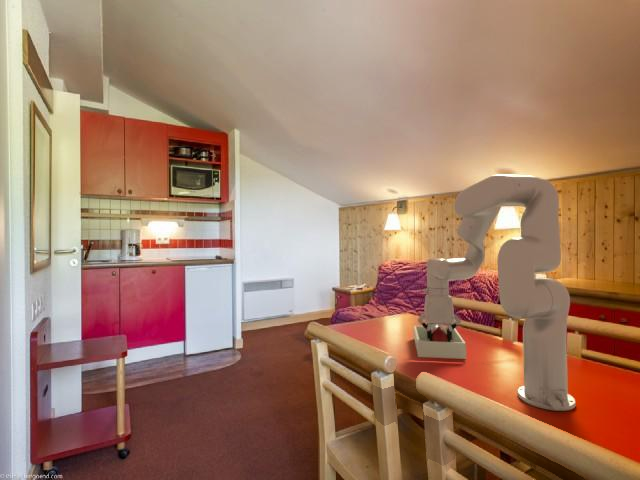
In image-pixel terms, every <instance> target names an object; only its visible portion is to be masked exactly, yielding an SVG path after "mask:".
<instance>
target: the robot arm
mask: <svg viewBox="0 0 640 480" xmlns="http://www.w3.org/2000/svg"><path fill="white" fill-rule="evenodd" d="M559 197H560V196H559V193H558V190H557V188H556V187H555V186H554V184H553V183H552V182H550V181H549V180H547V179H545V178H542V177H539V176H533V175H523V174H521V175H520V174H494V175H490V176H489V177H486V178H484V179H482V180H480V181H478V182H477V183H474V184H472V185H470V186H468V187H466V188H465V189H463V190H461V191H460V192H459V193H458V194H457V196H456V197H455V199H454V203H453V208H454V209H453V210H454V212H455V214H456V215H457V216H458V217H460V218H462V220H461V222H460V224H459V225H458V228H457V231H456V232H457V233H456V234H457V236H458V237H459V238H460V239H461V240H462V241H463V242H466V243H467V244H468V248H467V250H466V253H465V254H464V256H463V257H460V258H459V257H457V258H456V257H455V258H441V257H440V258H438V257H437V258H429V259H427V260H426V288H423V289H422V290H423V294H424V293H425V294H426V295H425V297H424V306H423V307H424V308H423V311H424V312H423V313H422V314H421V315H420V316H419V317H418V318H417V322H418V323H419V324H420V326H423V327H424V328H425V329H426V330H427V339H429V341H432V331H431V326H432V324H444V325H446V327H448V329H447V337H448V342H450V340H452V331H453V329H454V328H455V329H456V327H458V326H459V325H460V324H461V323H462V320H461V319H460V318H459V317H458V316H457V315H456V314H455V312H454V311H455V309H454V302H453V296H451V295H450V284H449V283H450V282H451V281H460V280H469V279H472V278H473V277H475V275H476V274H477V273H478V272H479V270H480V269H481V267H482V264H483V263H484V261H485V256H486V248H485V244H484V240H485V238H486V237H487V235H488V232H489V231H490V229H491V227H492V225H493V223H494V222H495V219H496V218H497V216H498V214H499V212H500V210H501V208H502V207H524V208H525V209H524V210H523V213H522V214H521V217H520V218H521V219H520V236H519V237H513V238H510V239H508V240H506V241H505V242H504V243H503V244H502V245H501V247H500V248H499V251H498V253H497V260H496V261H497V279H498V280H497V281H498V296H499V302H500V305H501V308H502V309H503V311H504V312H505V313H506V314H507V315H508V316H509V317H511V318H514V319H517V320H524V321H523V325H522V326H523V327H522V351H523V354H522V357H523V360H522V361H523V385H521V386H520V387H519V388H518V389H517V397H518V398H520V400H522V401H523V402H524V403H527V404H528V405H530V406H533V407H536V408H540V409H543V410H547V411H555V412H557V411H558V412H567V411H571V410H573V409H574V408H575V407H576V405H577V404H576V399H575V398H574V397H573V396H572V395H571V394H569V392H568V391H569V390H568V389H569V388H568V353H567V352H568V350H567V348H568V347H567V341H568V340H567V338H568V337H567V326H568V325H567V322H568V316H569V312H570V307H571V297H570V292H569V291H568V289H567V287H566V286H565V285H564V284H563V283H562V282H560V281H559V280H556V279H553V278H549V277H540V278H536V277H535V276H536V274H537V275H538V274H546V273H547V274H548V273H550V272H554V271H555V270H557V269H558V268H559V266H560V265H561V262H562V252H561V251H562V250H561V249H562V248H561V233H560V231H561V230H560V220H559V219H560V218H559V217H560V215H559V214H560V213H559V212H560V198H559ZM423 320H424V321H425V322H424V321H423Z"/></svg>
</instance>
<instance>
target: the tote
mask: <svg viewBox="0 0 640 480" xmlns="http://www.w3.org/2000/svg"><path fill="white" fill-rule="evenodd" d="M447 329H448V327H447V326H444V332H445V333H446V334H447ZM413 340H414V344H415V349H416V353H417V357H418V358H432V359H433V358H435V359H436V358H437V359H438V358H439V359H455V360H457V359H461V360H467V345H466V344H467V343H466V342H465V340H464V339H463V337H462V336H461V335H460V332H458V330H457V329H456V328H454V329H453V331H452V340H450V342H448V341H447V342H434V341H427V330H426V329H425V328H424V327H423V326H422V325H413Z"/></svg>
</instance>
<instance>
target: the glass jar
mask: <svg viewBox="0 0 640 480" xmlns="http://www.w3.org/2000/svg"><path fill="white" fill-rule="evenodd" d="M438 326H440V327H441V329H442V330H443V331H444V327H445V324H432V326H431V331H432V333H433V331H435V330H436V329H437V328H438ZM427 341H429V339H427Z"/></svg>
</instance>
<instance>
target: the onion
mask: <svg viewBox="0 0 640 480" xmlns="http://www.w3.org/2000/svg"><path fill="white" fill-rule="evenodd" d="M432 341H434V342H447V341H448V337H447V334H446V333H445V332H444V331H443V330H442V329H441V327H440V326H438V328H437V329H436V330H435V331H433V333H432Z"/></svg>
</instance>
